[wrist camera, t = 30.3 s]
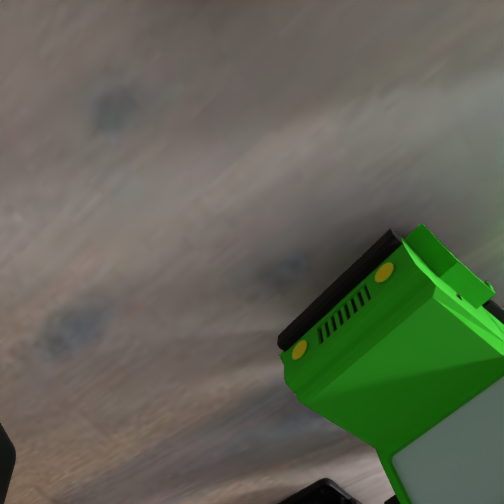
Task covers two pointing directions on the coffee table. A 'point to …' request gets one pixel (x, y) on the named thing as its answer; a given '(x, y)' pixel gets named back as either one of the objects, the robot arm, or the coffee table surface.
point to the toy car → (409, 368)
